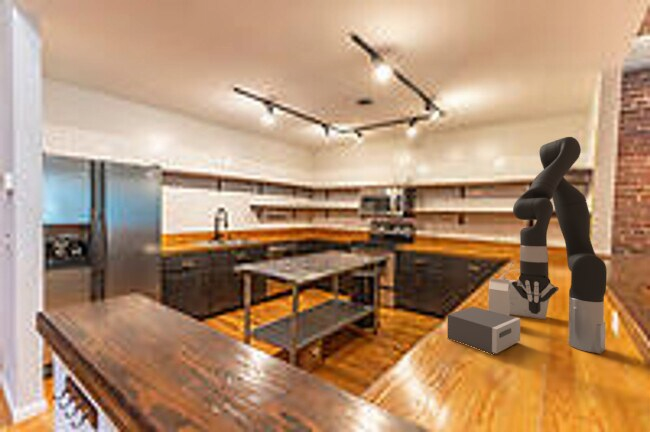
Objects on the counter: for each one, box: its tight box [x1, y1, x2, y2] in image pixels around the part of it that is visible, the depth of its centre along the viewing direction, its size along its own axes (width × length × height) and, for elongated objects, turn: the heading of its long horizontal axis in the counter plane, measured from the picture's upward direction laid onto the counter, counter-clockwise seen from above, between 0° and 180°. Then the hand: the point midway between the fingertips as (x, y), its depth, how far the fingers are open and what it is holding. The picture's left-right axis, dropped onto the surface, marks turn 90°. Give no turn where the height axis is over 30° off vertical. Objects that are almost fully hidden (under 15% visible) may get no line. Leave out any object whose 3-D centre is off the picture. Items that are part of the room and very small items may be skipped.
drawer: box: [492, 317, 521, 354], centre depth 108 cm, size 16×18×8 cm
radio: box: [498, 261, 551, 320], centre depth 139 cm, size 22×8×25 cm, turn 62°
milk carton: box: [487, 277, 510, 316], centre depth 128 cm, size 7×7×19 cm
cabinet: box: [447, 306, 517, 355], centre depth 110 cm, size 16×18×9 cm
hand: (534, 313), depth 96 cm, fingers closed
